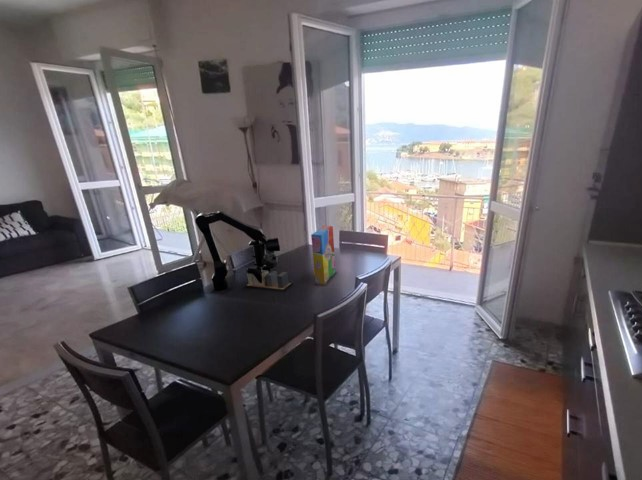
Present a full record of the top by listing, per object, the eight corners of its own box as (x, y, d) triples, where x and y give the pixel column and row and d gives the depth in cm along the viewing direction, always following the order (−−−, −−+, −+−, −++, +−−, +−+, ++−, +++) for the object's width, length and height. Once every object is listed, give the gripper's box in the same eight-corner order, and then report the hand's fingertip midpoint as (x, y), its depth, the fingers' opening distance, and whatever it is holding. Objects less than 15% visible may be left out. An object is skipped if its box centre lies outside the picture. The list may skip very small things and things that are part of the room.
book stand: (283, 291, 182) (281, 280, 180) (246, 287, 188) (244, 276, 186) (291, 284, 190) (290, 274, 187) (256, 281, 196) (254, 270, 193)
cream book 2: (258, 285, 187) (256, 273, 185) (254, 284, 188) (252, 273, 185) (264, 281, 192) (263, 270, 190) (260, 280, 193) (258, 269, 190)
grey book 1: (272, 286, 185) (270, 275, 182) (267, 286, 186) (265, 274, 183) (278, 282, 190) (276, 271, 187) (273, 282, 191) (272, 270, 188)
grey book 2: (283, 288, 183) (281, 276, 180) (278, 287, 184) (276, 275, 181) (288, 283, 188) (287, 272, 186) (284, 283, 189) (282, 272, 186)
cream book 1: (253, 284, 188) (251, 273, 185) (248, 284, 189) (246, 272, 186) (259, 280, 193) (258, 269, 191) (255, 280, 194) (253, 269, 191)
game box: (324, 285, 188) (320, 235, 177) (315, 285, 189) (310, 234, 178) (335, 272, 206) (332, 225, 195) (326, 271, 207) (323, 225, 196)
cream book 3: (263, 286, 186) (262, 274, 184) (259, 285, 187) (257, 274, 184) (270, 282, 192) (268, 270, 189) (265, 281, 192) (263, 270, 190)
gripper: (263, 259, 172) (267, 289, 178) (283, 248, 188) (286, 276, 194) (243, 257, 175) (248, 286, 181) (264, 247, 191) (268, 274, 198)
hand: (264, 280), depth 189 cm, fingers closed on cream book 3, 6 cm apart
